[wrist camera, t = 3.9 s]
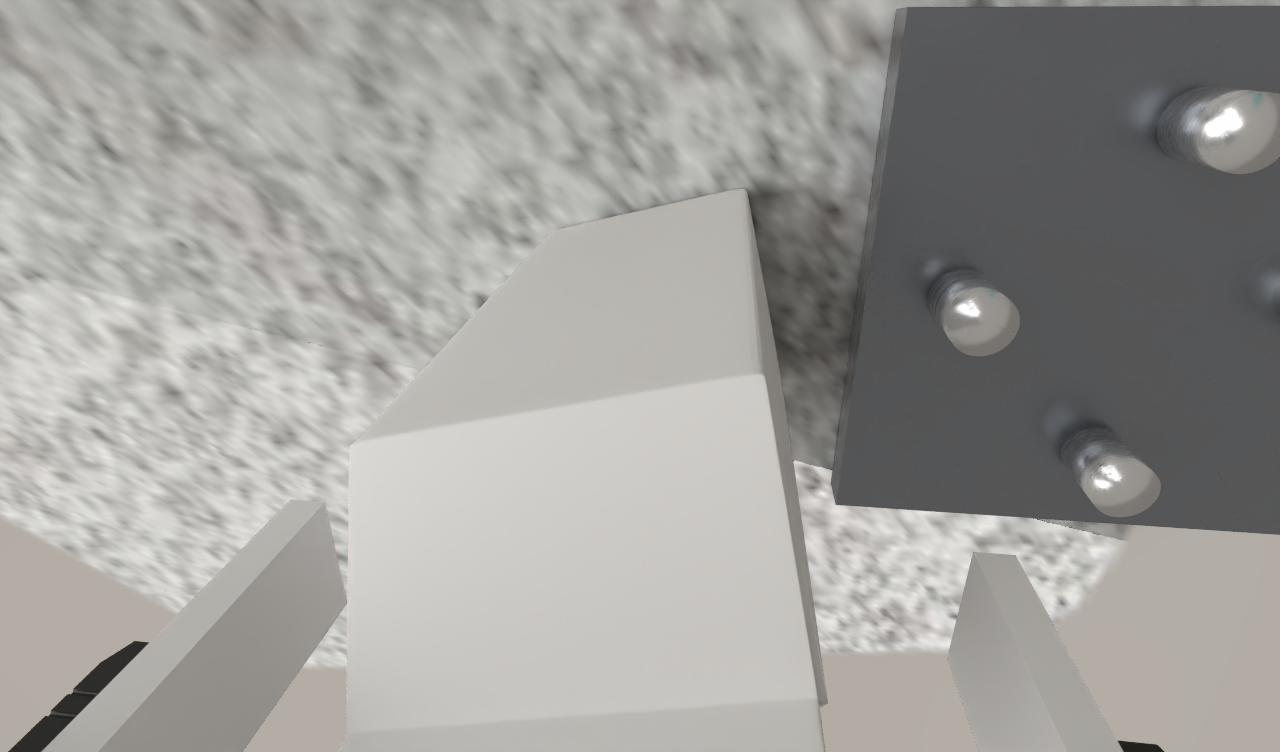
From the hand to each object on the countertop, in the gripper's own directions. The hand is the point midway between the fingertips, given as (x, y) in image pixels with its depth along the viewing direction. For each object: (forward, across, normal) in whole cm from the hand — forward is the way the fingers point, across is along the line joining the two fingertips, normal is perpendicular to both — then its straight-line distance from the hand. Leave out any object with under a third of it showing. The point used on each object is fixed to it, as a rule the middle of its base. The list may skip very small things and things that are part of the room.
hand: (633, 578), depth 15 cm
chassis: (+14, +15, +2) cm, 20 cm away
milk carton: (+14, 0, +1) cm, 14 cm away
